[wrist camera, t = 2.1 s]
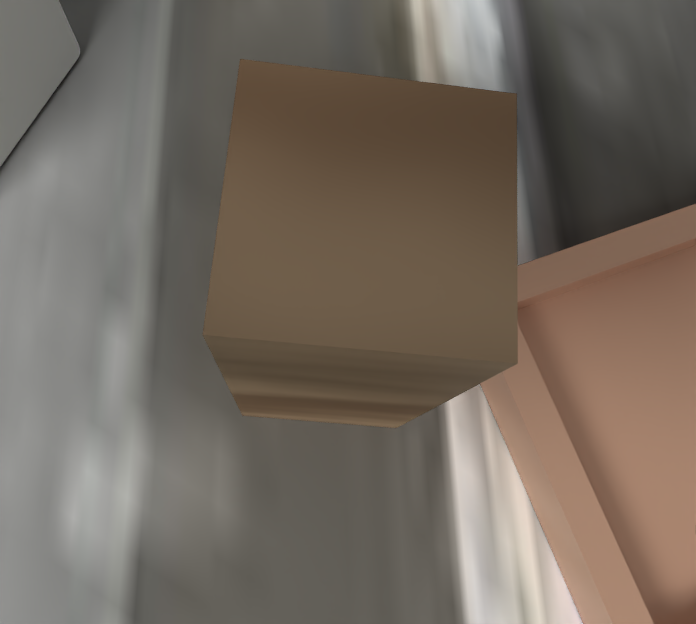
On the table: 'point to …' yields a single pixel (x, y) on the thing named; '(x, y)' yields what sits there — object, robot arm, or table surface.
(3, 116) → the medicine bottle
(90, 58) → the table surface
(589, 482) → the terracotta dish
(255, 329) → the walnut block
